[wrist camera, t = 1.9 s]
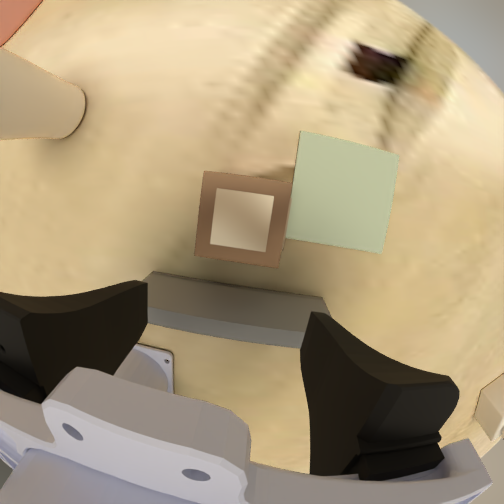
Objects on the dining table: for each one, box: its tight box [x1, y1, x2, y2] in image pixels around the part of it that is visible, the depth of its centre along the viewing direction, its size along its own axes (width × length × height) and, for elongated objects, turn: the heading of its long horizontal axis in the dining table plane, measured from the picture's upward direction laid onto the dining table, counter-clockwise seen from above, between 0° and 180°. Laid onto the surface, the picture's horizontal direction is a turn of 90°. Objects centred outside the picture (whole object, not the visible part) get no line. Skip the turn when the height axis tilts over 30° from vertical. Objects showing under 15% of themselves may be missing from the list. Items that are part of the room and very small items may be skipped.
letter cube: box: [194, 171, 292, 268], centre depth 18 cm, size 5×5×5 cm
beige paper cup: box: [0, 47, 85, 141], centre depth 11 cm, size 7×7×15 cm
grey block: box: [142, 271, 332, 348], centre depth 19 cm, size 4×14×6 cm, turn 82°
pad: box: [285, 131, 399, 254], centre depth 19 cm, size 8×8×1 cm
